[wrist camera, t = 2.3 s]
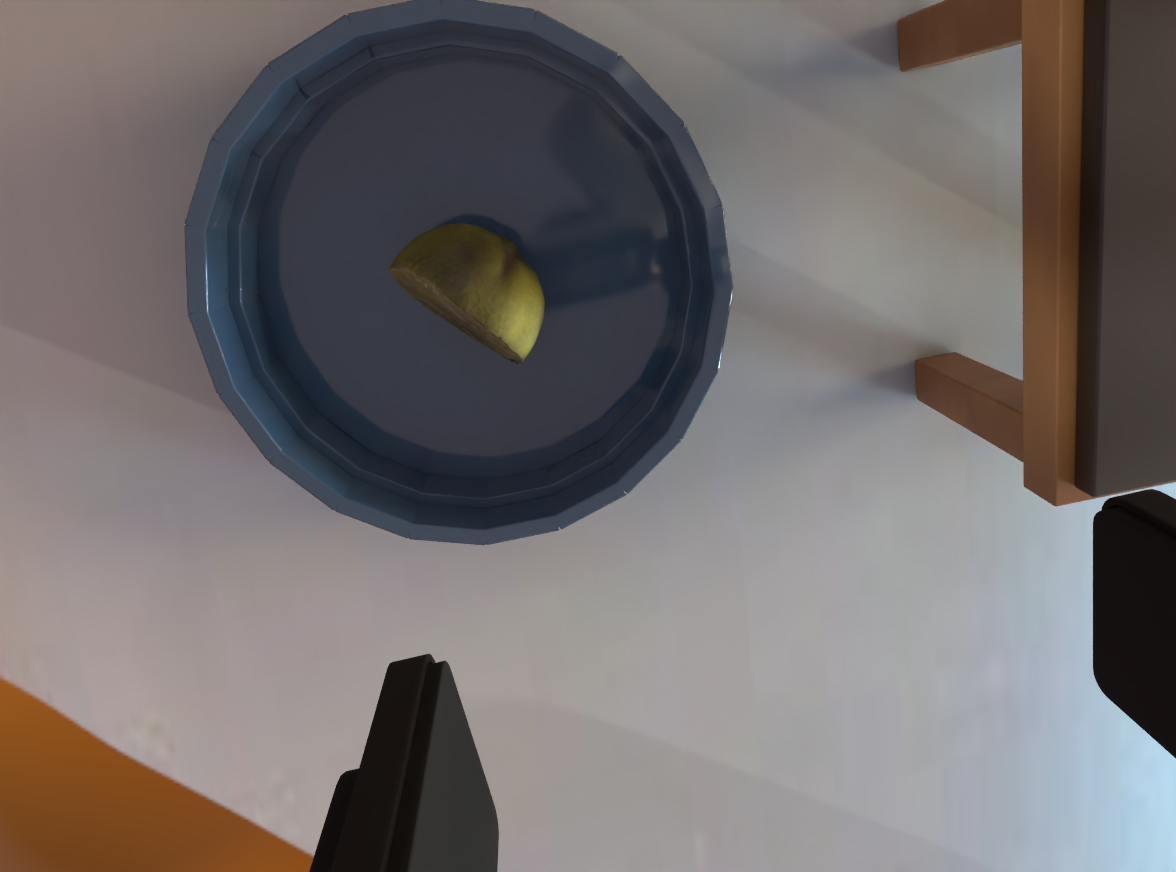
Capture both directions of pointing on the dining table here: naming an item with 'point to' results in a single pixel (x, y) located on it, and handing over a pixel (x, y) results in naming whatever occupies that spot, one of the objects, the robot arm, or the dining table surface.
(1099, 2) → the stool
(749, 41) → the dining table surface
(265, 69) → the bowl
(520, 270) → the lime
